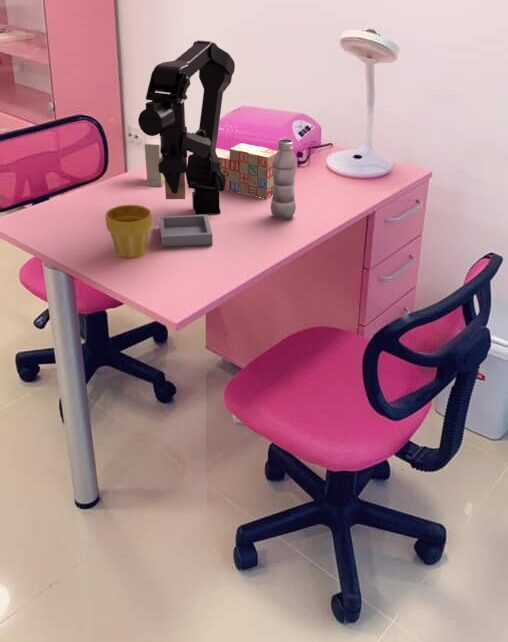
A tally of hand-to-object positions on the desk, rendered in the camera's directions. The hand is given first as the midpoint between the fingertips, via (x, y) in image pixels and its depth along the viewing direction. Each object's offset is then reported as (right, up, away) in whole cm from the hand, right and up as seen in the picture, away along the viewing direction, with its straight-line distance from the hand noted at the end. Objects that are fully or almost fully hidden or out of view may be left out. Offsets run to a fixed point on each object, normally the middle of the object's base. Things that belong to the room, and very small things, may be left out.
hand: (175, 189), depth 170 cm
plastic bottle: (+26, -4, +17) cm, 32 cm away
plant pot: (-10, -15, -2) cm, 18 cm away
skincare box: (-9, +9, +37) cm, 39 cm away
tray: (+2, -10, +6) cm, 12 cm away
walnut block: (0, -1, +1) cm, 2 cm away
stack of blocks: (+15, +6, +34) cm, 38 cm away
